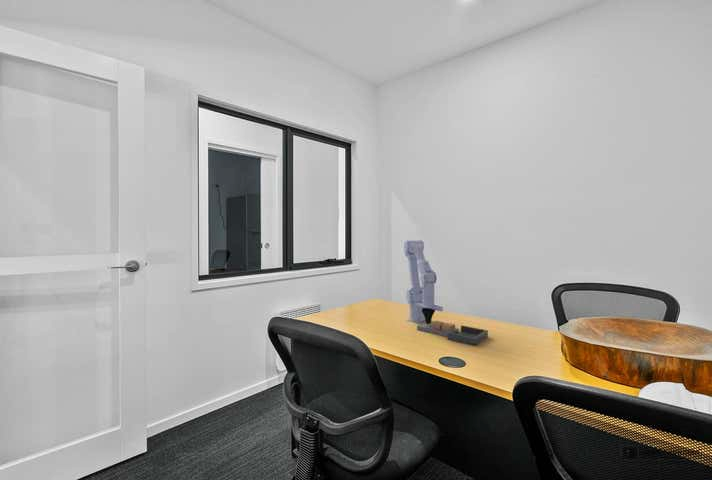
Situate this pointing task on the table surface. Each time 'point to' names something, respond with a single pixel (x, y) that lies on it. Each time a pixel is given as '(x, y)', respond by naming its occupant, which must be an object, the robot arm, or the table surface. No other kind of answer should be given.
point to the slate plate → (429, 329)
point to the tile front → (448, 327)
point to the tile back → (437, 324)
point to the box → (469, 335)
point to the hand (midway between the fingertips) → (428, 323)
